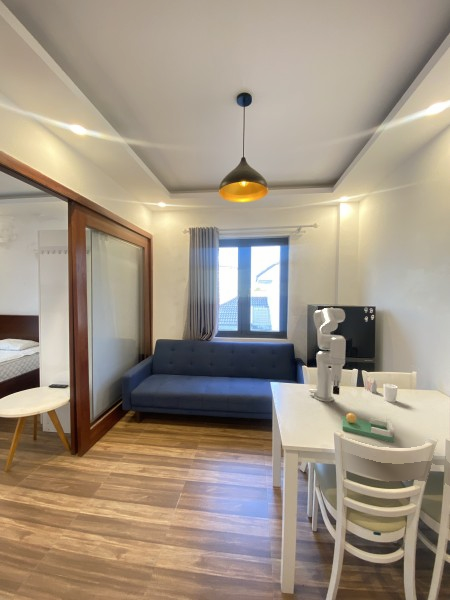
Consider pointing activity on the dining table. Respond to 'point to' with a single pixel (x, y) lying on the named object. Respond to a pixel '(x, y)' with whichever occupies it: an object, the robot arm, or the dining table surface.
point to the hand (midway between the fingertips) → (335, 393)
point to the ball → (351, 418)
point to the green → (371, 428)
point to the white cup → (390, 392)
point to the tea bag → (371, 384)
